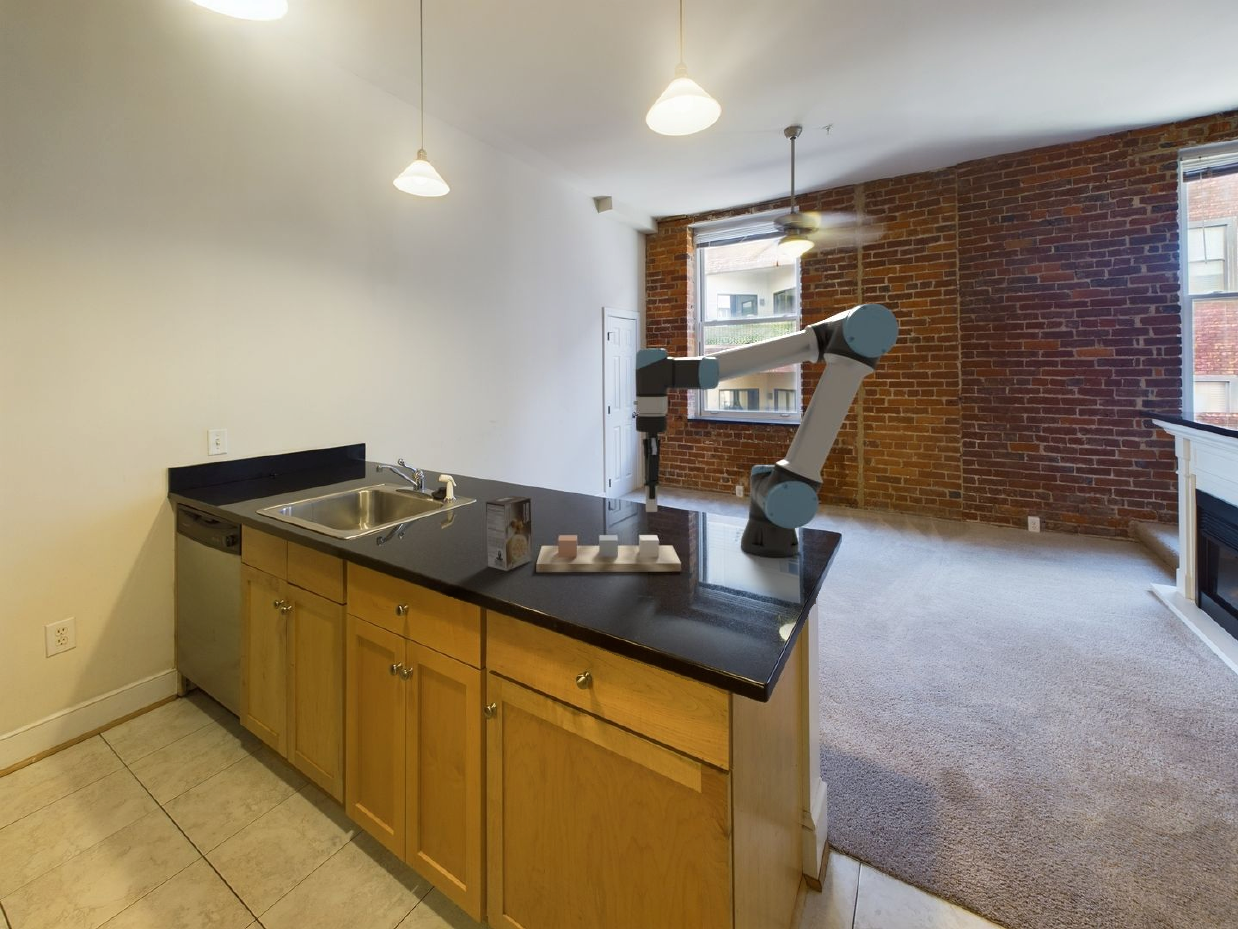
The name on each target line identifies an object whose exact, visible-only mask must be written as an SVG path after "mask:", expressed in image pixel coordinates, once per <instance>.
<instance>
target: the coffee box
mask: <svg viewBox="0 0 1238 929" xmlns="http://www.w3.org/2000/svg"><path fill="white" fill-rule="evenodd" d="M531 504H532V503H531V498H530V497H524V496H518V495H508V496H504V497H501V498H500V497H499V498H496V499H493V500H488V501H485V508H486V509H485V510H486V511H485V512H486V536H487V537H486V538H487V542H486V544H487V566H488V567H489V568H493V569H497V570H500V571H501V570H502V571H505V572H507V571H510V570H513V569H515V568H518V567H520V566H522V565H524V564H525V565H526V564H527V563H529V562H531V561H533V552H532V550H533V549H532V548H533V545H532V507H531V506H532V505H531Z"/></svg>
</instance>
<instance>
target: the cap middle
mask: <svg viewBox="0 0 1238 929" xmlns="http://www.w3.org/2000/svg"><path fill="white" fill-rule="evenodd" d="M598 536H599V538H598V543H599V544H598V546H599V557H618V546H619V538H618V537H619V536H618V534H600V535H598Z"/></svg>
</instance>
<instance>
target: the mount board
mask: <svg viewBox="0 0 1238 929" xmlns="http://www.w3.org/2000/svg"><path fill="white" fill-rule="evenodd" d="M535 566H536V573H588V572H589V573H592V572H593V573H597V572H598V573H599V572H600V573H607V572H608V573H611V572H613V573H615V572H617V573H619V572H621V573H622V572H623V573H624V572H626V573H628V572H630V573H631V572H634V573H635V572H637V573H639V572H640V573H641V572H645V573H646V572H650V573H651V572H660V573H661V572H682V562H681V560H680V558H679V556H678V555H677V552H676V550H675V548H674V546H673V545H659V557H640V554H639V545H618V557H599V545H577V557H558V545H541V547H540V551H539V555H538V557H537V561H536V565H535Z"/></svg>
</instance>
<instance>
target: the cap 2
mask: <svg viewBox="0 0 1238 929" xmlns="http://www.w3.org/2000/svg"><path fill="white" fill-rule="evenodd" d="M638 546H639V554H640V557H659V546H660V540H659V537H658V535H656V534H639V535H638Z"/></svg>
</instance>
